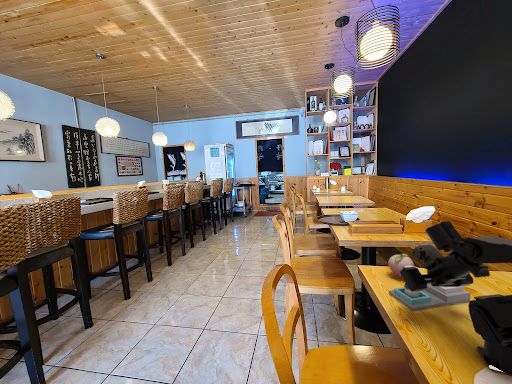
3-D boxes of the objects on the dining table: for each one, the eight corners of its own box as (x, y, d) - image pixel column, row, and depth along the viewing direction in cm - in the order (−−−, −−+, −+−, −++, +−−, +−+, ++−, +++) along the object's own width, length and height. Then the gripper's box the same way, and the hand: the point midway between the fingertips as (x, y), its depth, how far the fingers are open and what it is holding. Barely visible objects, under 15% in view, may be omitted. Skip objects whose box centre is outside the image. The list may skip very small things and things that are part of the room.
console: (413, 310, 67) (413, 297, 66) (388, 293, 77) (388, 281, 76) (470, 301, 70) (470, 288, 69) (439, 286, 80) (439, 274, 79)
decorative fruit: (392, 270, 94) (392, 247, 93) (415, 275, 88) (415, 252, 87) (385, 277, 88) (385, 253, 87) (409, 284, 82) (409, 259, 81)
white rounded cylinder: (422, 299, 70) (422, 270, 70) (411, 301, 70) (411, 271, 69) (410, 291, 75) (410, 264, 74) (399, 292, 75) (399, 265, 74)
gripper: (463, 236, 64) (429, 259, 75) (404, 241, 62) (379, 264, 73) (494, 274, 56) (451, 293, 68) (428, 281, 55) (396, 299, 66)
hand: (418, 285), depth 69 cm, fingers open, 9 cm apart
